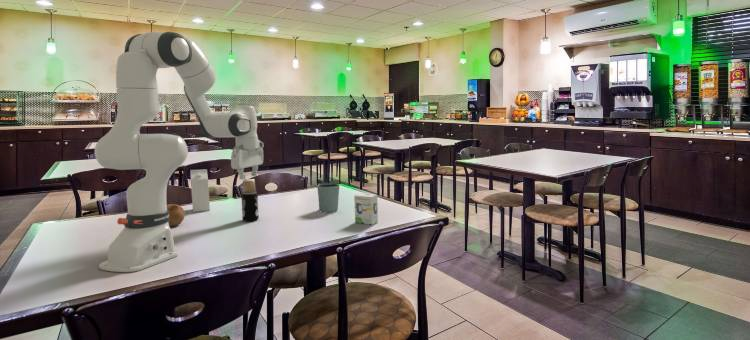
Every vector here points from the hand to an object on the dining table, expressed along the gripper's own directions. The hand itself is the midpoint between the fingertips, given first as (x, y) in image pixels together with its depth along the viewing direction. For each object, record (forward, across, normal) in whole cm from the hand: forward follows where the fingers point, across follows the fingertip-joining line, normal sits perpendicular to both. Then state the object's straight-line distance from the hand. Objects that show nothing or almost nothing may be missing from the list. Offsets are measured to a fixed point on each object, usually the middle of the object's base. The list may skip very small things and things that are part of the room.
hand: (248, 177), depth 177 cm
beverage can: (+18, +1, 0) cm, 19 cm away
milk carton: (+18, +13, +32) cm, 39 cm away
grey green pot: (+18, +24, -27) cm, 40 cm away
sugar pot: (+6, 0, 0) cm, 6 cm away
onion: (+18, -13, +27) cm, 36 cm away
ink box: (+19, +7, -49) cm, 53 cm away
